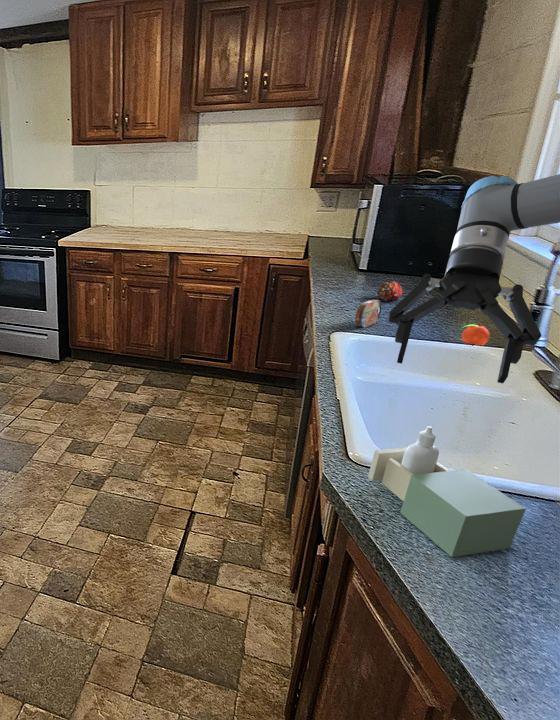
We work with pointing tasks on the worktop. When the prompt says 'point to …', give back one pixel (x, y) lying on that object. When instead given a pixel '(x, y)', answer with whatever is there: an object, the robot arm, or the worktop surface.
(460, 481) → the cabinet
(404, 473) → the drawer
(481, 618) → the worktop surface
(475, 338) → the red tomato
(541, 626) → the worktop surface
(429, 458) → the eye dropper bottle
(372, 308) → the sandwich
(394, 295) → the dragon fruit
